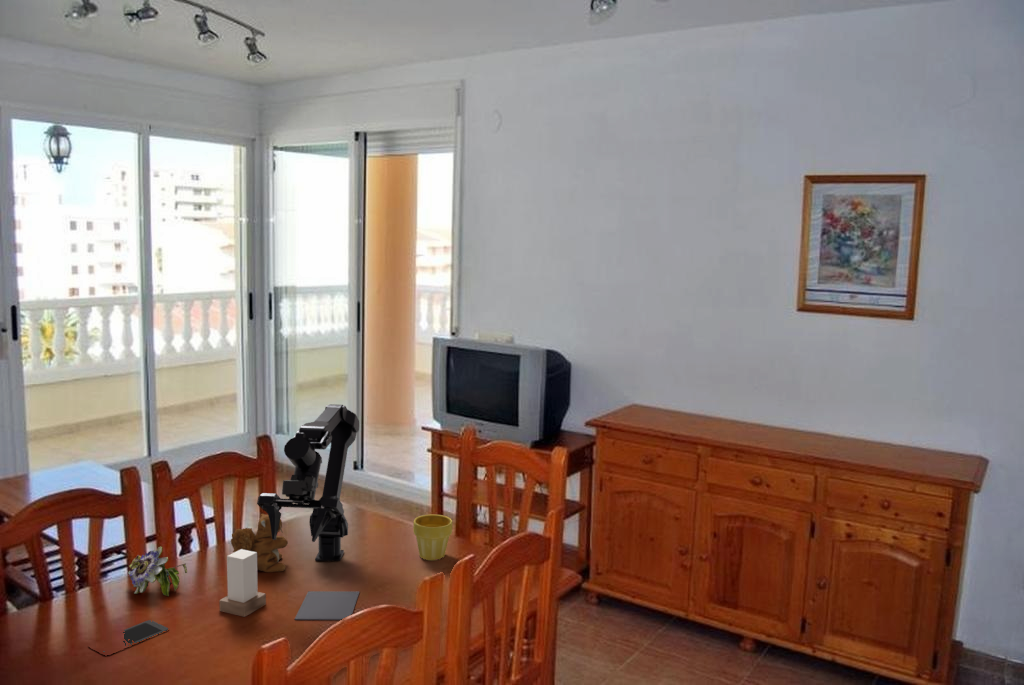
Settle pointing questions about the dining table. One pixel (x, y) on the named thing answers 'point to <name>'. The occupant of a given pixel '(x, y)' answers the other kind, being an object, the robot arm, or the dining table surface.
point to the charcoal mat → (327, 605)
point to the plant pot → (432, 535)
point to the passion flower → (153, 572)
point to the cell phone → (143, 631)
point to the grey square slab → (242, 605)
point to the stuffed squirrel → (261, 544)
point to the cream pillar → (242, 575)
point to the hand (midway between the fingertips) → (293, 540)
